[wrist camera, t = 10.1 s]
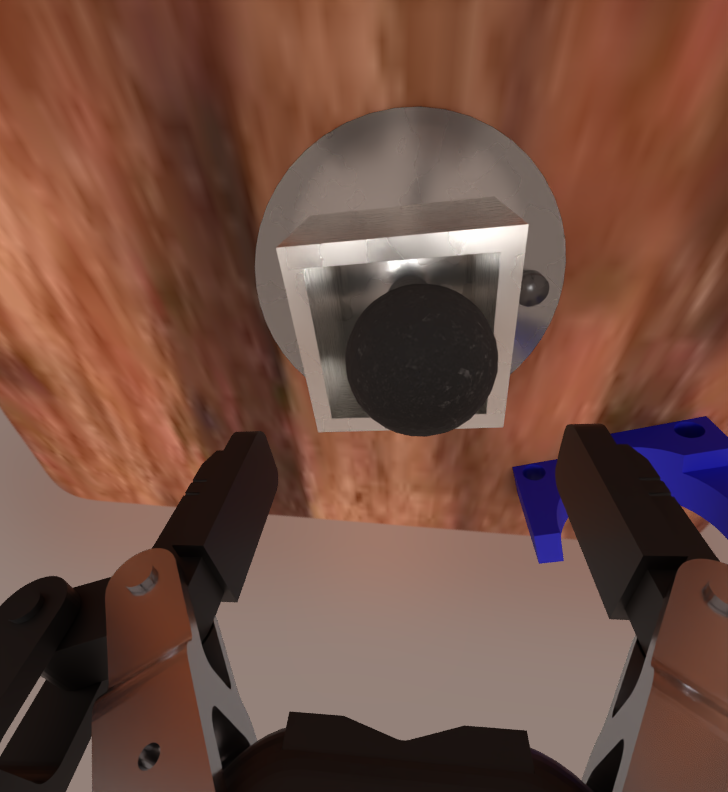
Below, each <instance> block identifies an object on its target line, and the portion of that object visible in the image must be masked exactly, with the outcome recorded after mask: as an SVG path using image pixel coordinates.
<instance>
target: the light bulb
mask: <svg viewBox="0 0 728 792" xmlns="http://www.w3.org/2000/svg"><path fill="white" fill-rule="evenodd" d="M345 362H346V373H347V379H348V382H349V385H350V388H351V391H352V393H353V395H354V396H355V399H356V401H357V402H358V404H359V405H360V406H361V408H362V409H363V410H364V411H365V412H366V413H367V414H368V415H369V416H370V417H371V418H372V419H373V420H374V421H376V422H377V423H379V424H380V425H382V426H383V427H385V428H386V429H389V430H391V431H394V432H396V433H400V434H404V435H409V436H431V435H436V434H441V433H445V432H448V431H450V430H453V429H455V428H457V427H459V426H461V425H462V424H464V423H465V422H467V421H468V420H470V419H471V418H472V417H473V416H474V415H475V413H476V412H477V411H478V410H479V409H480V408H481V407H482V406H483V404H484V403H485V402H486V400H487V398H488V396H489V395H490V393H491V391H492V388H493V385H494V382H495V379H496V375H497V372H498V349H497V343H496V339H495V336H494V334H493V331H492V329H491V327H490V324H489V322H488V320H487V319H486V317H485V316H484V314H483V313H482V312H481V310H480V309H479V308H478V307H477V306H476V305H475V304H474V303H473V302H472V301H470V300H469V299H468V298H466V297H465V296H463V295H462V294H460V293H459V292H457V291H454V290H452V289H449V288H447V287H444V286H440V285H433V284H428V283H427V282H426V281H425V280H423V279H422V278H419V277H416V276H406V277H402V278H400V279H398V280H397V281H396V282H394V283H393V284H392V285H391V287H390V289H389V290H388V292H387V293H385V294H384V295H382V296H380V297H379V298H377V299H376V300H374V301H373V302H372V303H371V304H370V305H369V306H368V307H367V308H366V309H365V310H364V311H363V312H362V314H361V315H360V316H359V318H358V320H357V321H356V323H355V325H354V327H353V330H352V332H351V334H350V337H349V340H348V342H347V347H346V354H345Z"/></svg>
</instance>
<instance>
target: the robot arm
mask: <svg viewBox="0 0 728 792" xmlns="http://www.w3.org/2000/svg"><path fill="white" fill-rule="evenodd" d="M555 480H556V486H557V489H558V492H559V495H560V497H561V500H562V502H563V505H564V507H565V510H566V512H567V515H568V517H569V520H570V522H571V525H572V527H573V530H574V532H575V535H576V537H577V540H578V542H579V545H580V547H581V549H582V552H583V554H584V557H585V559H586V562H587V564H588V566H589V569H590V572H591V574H592V577H593V579H594V582H595V584H596V587H597V589H598V591H599V594H600V596H601V599H602V601H603V604H604V607H605V609H606V612H607V614H608V617H609V619H620V620H630V622H631V624H632V627H633V629H634V631H635V634H636V635H635V637H634V639H633V641H632V644H631V647H630V650H629V653H628V656H627V659H626V662H625V665H624V668H623V671H622V674H621V677H620V680H619V683H618V686H617V689H616V692H615V695H614V698H613V701H612V704H611V707H610V710H609V713H608V716H607V718H606V721H605V723H604V726H603V728H602V730H601V733H600V735H599V736H598V739H597V741H596V743H595V745H594V748H593V750H592V752H591V755H590V757H589V760H588V763H587V766H586V769H585V771H584V775H583V777H582V780H580V779H579V778H578V777H577V776H576V775H574V774H573V773H572V772H571V771H569V770H568V769H566V768H565V767H564V766H562V765H561V764H560V763H558V762H557V761H555V760H553V759H552V758H550V757H548V756H546V755H545V754H543V753H541V752H539V751H537V750H535V749H532V748H530V745H529V740H528V735H527V731H524V730H512V729H499V728H487V727H475V726H461V727H458V728H454V729H450V730H446V731H443V732H439V733H435V734H431V735H427V736H423V737H419V738H415V739H412V740H407V741H403V740H398V739H395V738H393V737H391V736H388V735H386V734H384V733H382V732H379V731H377V730H375V729H372V728H370V727H368V726H365V725H363V724H361V723H358V722H357V721H354V720H352V719H350V718H347V717H345V716H338V715H325V714H313V713H301V712H289V717H288V721H287V726H286V728H284V729H280V730H278V731H276V732H273V733H271V734H269V735H267V736H265V737H264V738H262V739H260V740H258V741H257V738H256V735H255V732H254V729H253V726H252V723H251V721H250V718H249V716H248V713H247V711H246V709H245V707H244V705H243V703H242V701H241V698H240V696H239V693H238V690H237V686H236V683H235V679H234V676H233V673H232V669H231V666H230V662H229V659H228V655H227V652H226V648H225V645H224V641H223V638H222V634H221V631H220V627H219V624H218V620H217V618H216V616H215V615H216V613H217V610H218V607H219V605H220V602H237V601H238V599H239V596H240V593H241V590H242V587H243V584H244V582H245V579H246V576H247V573H248V570H249V567H250V565H251V562H252V559H253V556H254V553H255V550H256V548H257V545H258V542H259V539H260V536H261V533H262V531H263V528H264V525H265V522H266V519H267V516H268V514H269V511H270V508H271V505H272V502H273V499H274V497H275V494H276V491H277V486H278V471H277V467H276V464H275V462H274V459H273V456H272V453H271V450H270V447H269V444H268V441H267V438H266V436H265V434H264V433H263V432H261V431H255V432H235V433H234V434H233V435H232V436H231V438H230V440H229V442H228V443H227V445H226V447H225V449H224V451H216V452H215V453H214V454H213V455H212V456H211V457H210V458H208V459H207V460H206V461H205V462H204V463H203V464H202V465H201V467H200V469H199V470H198V472H197V474H196V475H195V477H194V479H193V483H191V484H190V486H189V487H188V489H187V491H186V492H185V493H186V495H185V496H183V497H182V499H181V501H180V502H179V504H178V506H177V507H176V509H175V511H174V512H173V514H172V516H171V518H170V519H169V521H168V523H167V524H166V526H165V528H164V529H163V531H162V533H161V534H160V536H159V538H158V539H157V541H156V543H155V544H154V546H153V547H152V549H148V550H145V551H142V552H140V553H138V554H136V555H134V556H133V557H131V558H130V559H128V560H127V561H126V562H125V563H124V564H122V565H121V566H120V567H119V568H118V569H117V570H116V572H115V573H114V575H113V576H112V577H109V578H106V579H102V580H99V581H95V582H92V583H88V584H85V585H81V586H78V587H74V588H72V587H71V586H70V585H69V584H68V583H67V582H66V581H65V580H64V579H62V578H60V577H57V576H49V577H44V578H40V579H38V580H35V581H33V582H31V583H29V584H27V585H25V586H24V587H22V588H20V589H19V590H18V591H16V592H15V593H14V594H13V595H11V596H10V597H9V598H8V599H7V600H6V601H5V602H4V603H3V604H2V605H1V606H0V742H1V740H2V738H3V736H4V735H5V733H6V731H7V730H8V728H9V726H10V725H11V723H12V722H13V720H14V718H15V717H16V715H17V713H18V712H19V710H20V708H21V707H22V705H23V703H24V702H25V700H26V699H27V697H28V695H29V694H30V692H31V690H32V689H33V687H34V685H35V684H36V682H37V680H38V679H39V677H40V676H42V677H43V678H45V679H46V681H45V682H44V684H43V686H42V687H41V689H40V691H39V693H38V694H37V696H36V698H35V699H34V701H33V702H32V704H31V706H30V707H29V709H28V711H27V712H26V714H25V716H24V717H23V719H22V721H21V723H20V724H19V726H18V728H17V729H16V731H15V733H14V734H13V736H12V738H11V739H10V741H9V743H8V744H7V746H6V748H5V749H4V751H3V753H2V754H1V756H0V792H66V790H67V788H68V786H69V783H70V781H71V779H72V777H73V775H74V773H75V771H76V768H77V766H78V764H79V762H80V760H81V758H82V756H83V753H84V751H85V749H86V747H87V745H88V743H89V741H90V739H91V736H92V792H728V564H725V563H722V562H720V561H719V559H718V558H717V557H716V556H715V554H714V553H713V551H712V550H711V549H710V547H709V546H708V544H707V543H706V542H705V540H704V539H703V537H702V536H701V534H700V533H699V531H698V530H697V529H696V527H695V526H694V524H693V523H692V522H691V520H690V519H689V517H688V516H687V514H686V513H685V512H684V510H683V509H682V507H681V506H680V504H679V503H678V502H677V500H676V499H675V497H672V496H671V492H670V490H669V489H668V487H667V486H666V485H665V483H664V482H663V481H661V480H660V476H659V475H658V473H657V472H656V470H655V469H654V467H653V466H652V465H651V463H650V462H649V460H648V459H647V458H645V457H644V456H643V455H641V454H640V453H639V452H637V451H636V450H635V449H633V448H632V447H631V446H629V445H628V444H616V442H615V441H614V439H613V437H612V436H611V434H610V433H609V431H608V430H607V428H606V427H605V426H604V425H603V424H569V425H567V426H566V428H565V431H564V435H563V439H562V443H561V447H560V451H559V455H558V459H557V463H556V468H555Z"/></svg>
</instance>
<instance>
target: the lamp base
mask: <svg viewBox="0 0 728 792" xmlns="http://www.w3.org/2000/svg"><path fill="white" fill-rule="evenodd" d="M565 264H566V251H565V236H564V230H563V224H562V219H561V216H560V213H559V210H558V207H557V204H556V201H555V198H554V195H553V194H552V192H551V190H550V188H549V186H548V184H547V182H546V180H545V178H544V176H543V175H542V174H541V172H540V171H539V169H538V168H537V167H536V165H535V164H534V163H533V161H532V160H531V159H530V157H529V156H528V155H527V154H526V153H524V152H523V151H522V150H521V149H520V148H519V147H518V146H517V145H516V144H515V143H514V142H513V141H512V140H511V139H509V138H508V137H506V136H505V135H503V134H502V133H500V132H499V131H498V130H496V129H495V128H493V127H492V126H489V125H487V124H485V123H483V122H481V121H479V120H477V119H475V118H472V117H470V116H467V115H464V114H460V113H456V112H453V111H449V110H446V109H437V108H428V107H405V108H392V109H388V110H383V111H379V112H374V113H370V114H367V115H364V116H362V117H359V118H357V119H354V120H352V121H349V122H347V123H345V124H343V125H341V126H340V127H338V128H336V129H334V130H333V131H331V132H329V133H328V134H326V135H324V136H323V137H322V138H320V139H319V140H318V141H317V142H316V143H314V144H313V145H312V146H311V147H309V148H308V149H307V150H306V151H305V152H304V153H303V154H302V155H301V156H300V157H299V158H298V159H297V160H296V161H295V163H294V164H293V165H292V166H291V167H290V168H289V169H288V171H287V172H286V174H285V175H284V177H283V178H282V180H281V181H280V183H279V184H278V185H277V187H276V189H275V191H274V193H273V195H272V197H271V199H270V201H269V203H268V205H267V207H266V210H265V213H264V216H263V219H262V222H261V225H260V229H259V234H258V240H257V245H256V257H255V275H256V287H257V292H258V297H259V302H260V306H261V309H262V312H263V315H264V318H265V321H266V323H267V325H268V327H269V329H270V332H271V334H272V336H273V338H274V339H275V341H276V343H277V344H278V346H279V347H280V349H281V350H282V352H283V353H284V355H285V356H286V357H287V358H288V359H289V361H290V362H291V363H292V364H293V366H294V367H295V368H296V369H298V370H299V371H300V372H301V373H302V374H303V375H304V376H305V377H306V381H307V385H308V389H309V394H310V398H311V403H312V407H313V411H314V416H315V420H316V424H317V429H318V432H345V431H383V430H389V429H386V428H385V427H383V426H382V425H380V424H379V423H377V422H376V421H374V420H373V419H372V418H371V417H370V416H369V415H368V414H367V413H366V412H365V411H364V410H363V409H362V408H361V406H360V405H359V404H358V402H357V401H356V399H355V396H354V395H353V393H352V391H351V388H350V385H349V382H348V379H347V373H346V362H345V354H346V347H347V342H348V340H349V337H350V334H351V332H352V330H353V327H354V325H355V323H356V321H357V320H358V318H359V316H360V315H361V314H362V312H363V311H364V310H365V309H366V308H367V307H368V306H369V305H370V304H371V303H372V302H373V301H374V300H376V299H377V298H379V297H380V296H382V295H384V294H385V293H387V292H388V290H389V289H390V287H391V285H392V284H393V283H394V282H396V281H397V280H398V279H400V278H402V277H406V276H416V277H419V278H422V279H423V280H425V281H426V282H427V283H428V284H433V285H440V286H444V287H447V288H449V289H452V290H454V291H457V292H459V293H460V294H462V295H463V296H465V297H466V298H468V299H469V300H470V301H472V302H473V303H474V304H475V305H476V306H477V307H478V308H479V309H480V310H481V312H482V313H483V314H484V316H485V317H486V319H487V320H488V322H489V324H490V327H491V329H492V331H493V334H494V336H495V339H496V343H497V349H498V372H497V375H496V379H495V382H494V385H493V388H492V391H491V393H490V395H489V396H488V398H487V400H486V402H485V403H484V404H483V406H482V407H481V408H480V409H479V410H478V411H477V412H476V413H475V415H474V416H473V417H472V418H471V419H470V420H468V421H467V422H465V423H464V424H462V425H461V426H459V427H457V428H455V429H460V428H498V427H503V425H504V417H505V409H506V401H507V394H508V386H509V378H510V374H511V373H512V372H513V371H514V370H516V369H517V368H518V367H519V366H520V365H521V364H522V362H523V361H524V360H525V359H526V358H527V357H528V356H529V355H530V354H531V352H532V351H533V349H534V348H535V347H536V345H537V344H538V343H539V341H540V340H541V338H542V336H543V335H544V333H545V331H546V329H547V327H548V326H549V324H550V322H551V320H552V317H553V315H554V312H555V310H556V307H557V305H558V302H559V298H560V294H561V290H562V286H563V281H564V273H565Z"/></svg>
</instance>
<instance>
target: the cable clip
mask: <svg viewBox="0 0 728 792" xmlns="http://www.w3.org/2000/svg"><path fill="white" fill-rule="evenodd" d="M611 436H612V437H613V439H614V441H615V442H616V444H628V445H629V446H631V447H632V448H633V449H635V450H636V451H637V452H639V453H640V454H641V455H643V456H644V457H645V458H647V459H648V460H649V462H650V463H651V465H652V466H653V467H654V469H655V470H656V472H657V473H658V475H659V476H660V480H661V481H663V482H664V483H665V485H666V486H667V487H668V489H669V490H670V492H671V496H672V497H675V499H676V500H677V502H678V503H679V504H680V505H681V506H683V507H685V508H687V509H689V510H691V511H693V512H695V513H696V514H698V515H700V516H701V517H703V518H704V519H706V520H707V521H708V522H710V523H711V524H712V525H714V526H715V527H716V528H717V529H718V530H719V531H720V532H721V533H722V534H723V535H724V536H725V537H726V538H727V539H728V437H727V436H726V435H725V434H724V433H723V432H722V431H721V430H720V429H719V428H718V427H717V426H716V425H715V424H714V423H713V422H712V421H711V420H710V419H708V418H707V417H706V416H704V417H699V418H694V419H688V420H683V421H677V422H672V423H667V424H661V425H656V426H650V427H645V428H640V429H634V430H629V431H623V432H618V433H613V434H611ZM556 463H557V459H556V460H550V461H544V462H538V463H533V464H527V465H521V466H516V467H512V468H513V473H514V477H515V482H516V487H517V492H518V496H519V499H520V503H521V506H522V509H523V512H524V516H525V519H526V522H527V526H528V529H529V532H530V536H531V539H532V542H533V545H534V549H535V552H536V555H537V559H538V562H539V563H548V562H558V561H563V552H562V544H561V532H562V529H563V526H564V524H565V522H566V520H567V518H568V515H567V512H566V510H565V507H564V505H563V502H562V500H561V497H560V495H559V492H558V489H557V486H556V480H555V468H556Z"/></svg>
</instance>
